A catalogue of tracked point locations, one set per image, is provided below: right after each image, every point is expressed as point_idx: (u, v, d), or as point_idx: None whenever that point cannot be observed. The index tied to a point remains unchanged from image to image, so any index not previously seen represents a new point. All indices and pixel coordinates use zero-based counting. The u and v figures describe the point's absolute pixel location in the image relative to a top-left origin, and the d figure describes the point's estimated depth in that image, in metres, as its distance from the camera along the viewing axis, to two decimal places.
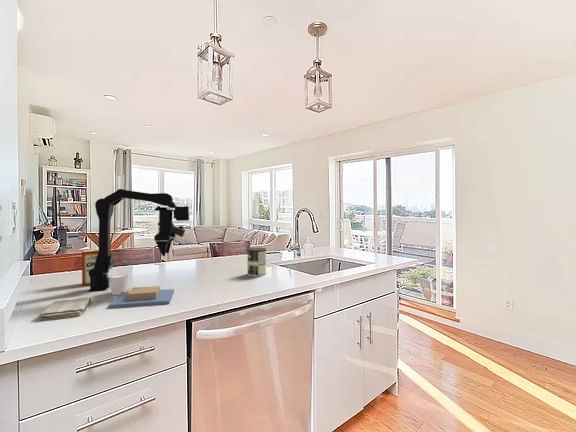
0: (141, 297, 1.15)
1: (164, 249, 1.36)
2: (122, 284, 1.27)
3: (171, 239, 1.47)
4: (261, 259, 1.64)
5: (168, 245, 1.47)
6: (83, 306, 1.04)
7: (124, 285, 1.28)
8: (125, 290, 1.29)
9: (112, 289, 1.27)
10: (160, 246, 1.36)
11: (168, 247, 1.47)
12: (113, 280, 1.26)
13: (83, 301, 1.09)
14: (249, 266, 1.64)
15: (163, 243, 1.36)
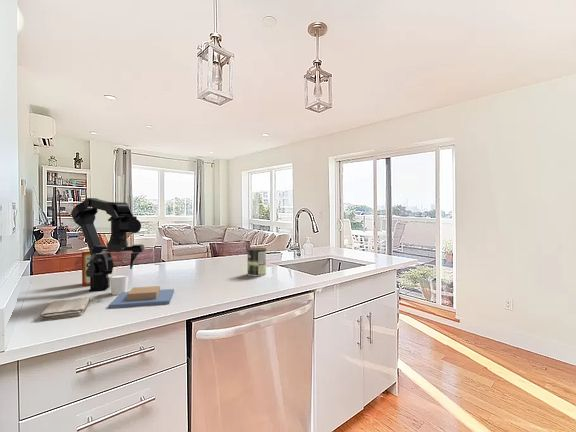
0: (141, 297, 1.15)
1: None
2: (122, 284, 1.27)
3: (131, 254, 1.29)
4: (261, 259, 1.64)
5: (131, 260, 1.30)
6: (83, 306, 1.04)
7: (124, 285, 1.28)
8: (125, 290, 1.29)
9: (112, 289, 1.27)
10: None
11: None
12: (113, 280, 1.26)
13: (83, 301, 1.09)
14: (249, 266, 1.64)
15: None
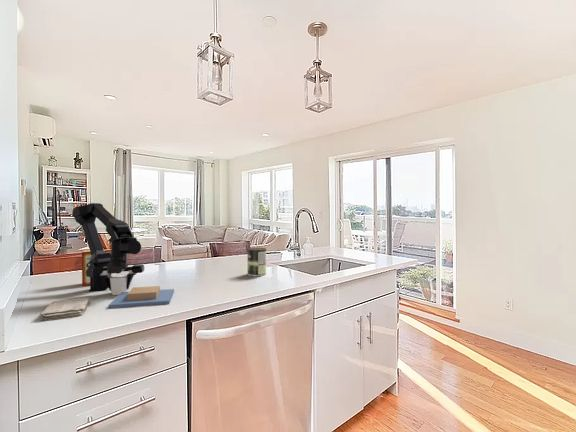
0: (141, 297, 1.15)
1: None
2: (122, 284, 1.27)
3: None
4: (261, 259, 1.64)
5: None
6: (84, 306, 1.05)
7: (124, 285, 1.28)
8: (125, 290, 1.29)
9: (112, 289, 1.27)
10: None
11: (127, 283, 1.30)
12: (113, 280, 1.26)
13: (82, 301, 1.09)
14: (249, 266, 1.64)
15: None
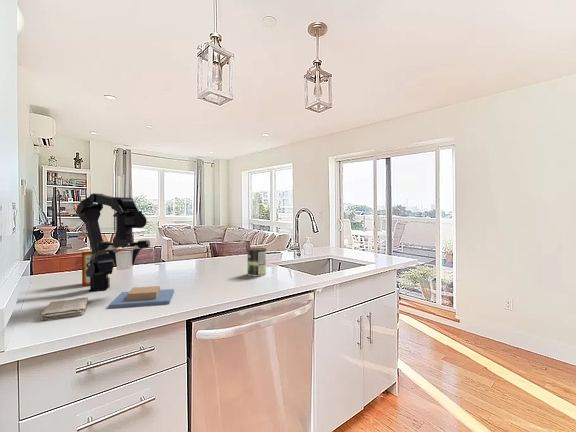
0: (141, 297, 1.15)
1: None
2: (128, 259, 1.25)
3: (133, 250, 1.26)
4: (261, 259, 1.64)
5: (133, 256, 1.27)
6: (84, 306, 1.05)
7: (130, 260, 1.26)
8: (131, 266, 1.27)
9: (118, 264, 1.24)
10: None
11: None
12: (119, 255, 1.24)
13: (82, 301, 1.09)
14: (249, 266, 1.64)
15: None
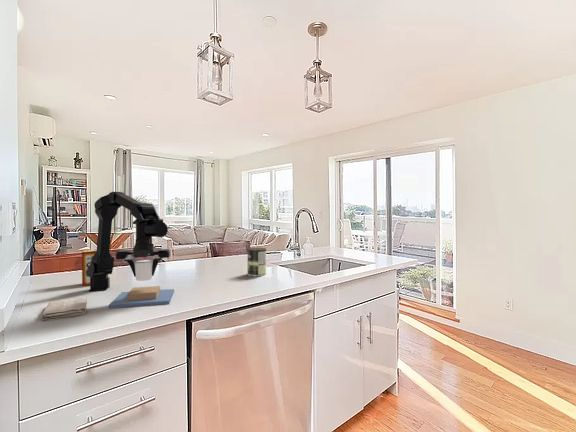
0: (141, 297, 1.15)
1: None
2: (148, 269, 1.18)
3: (153, 259, 1.19)
4: (261, 259, 1.64)
5: (153, 266, 1.20)
6: (84, 305, 1.05)
7: (150, 270, 1.19)
8: (151, 276, 1.20)
9: (137, 275, 1.17)
10: None
11: None
12: (138, 265, 1.17)
13: (82, 301, 1.09)
14: (249, 266, 1.64)
15: None
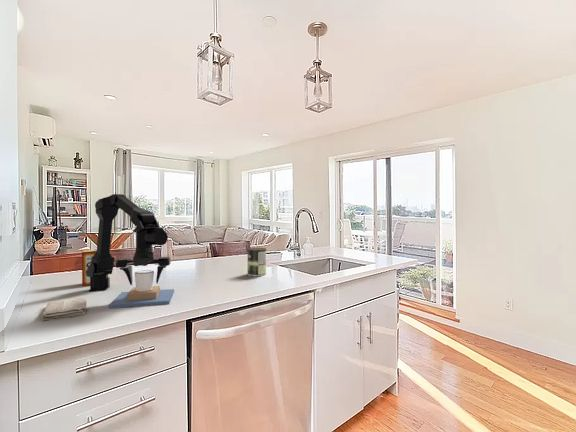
0: (141, 297, 1.15)
1: None
2: (148, 280, 1.18)
3: None
4: (261, 259, 1.64)
5: (157, 274, 1.21)
6: (84, 305, 1.05)
7: (150, 281, 1.19)
8: (151, 287, 1.20)
9: (137, 285, 1.17)
10: None
11: None
12: (138, 276, 1.17)
13: (81, 301, 1.10)
14: (249, 266, 1.64)
15: None
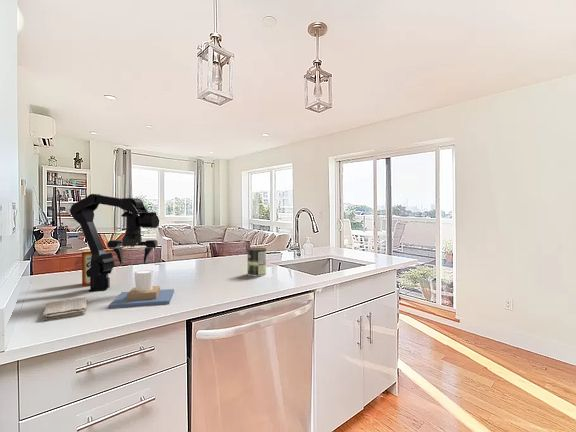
0: (141, 297, 1.15)
1: None
2: (148, 280, 1.18)
3: (145, 248, 1.32)
4: (261, 259, 1.64)
5: None
6: (85, 305, 1.05)
7: (150, 281, 1.19)
8: (151, 287, 1.20)
9: (137, 285, 1.17)
10: None
11: (144, 257, 1.34)
12: (138, 276, 1.17)
13: (81, 301, 1.10)
14: (249, 266, 1.64)
15: None
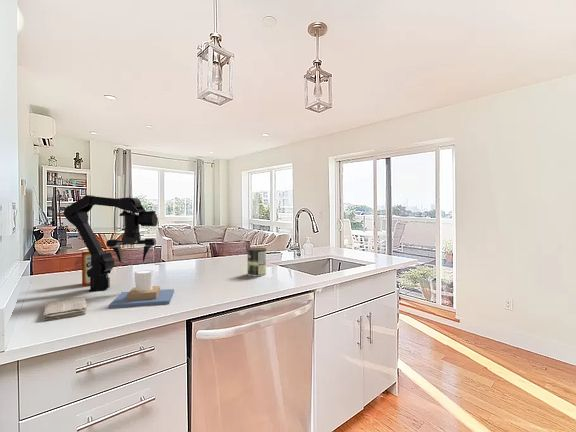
0: (141, 297, 1.15)
1: None
2: (148, 280, 1.18)
3: None
4: (261, 259, 1.64)
5: (143, 253, 1.36)
6: (85, 305, 1.05)
7: (150, 281, 1.19)
8: (151, 287, 1.20)
9: (137, 285, 1.17)
10: None
11: (143, 255, 1.36)
12: (138, 276, 1.17)
13: (80, 301, 1.10)
14: (249, 266, 1.64)
15: None
